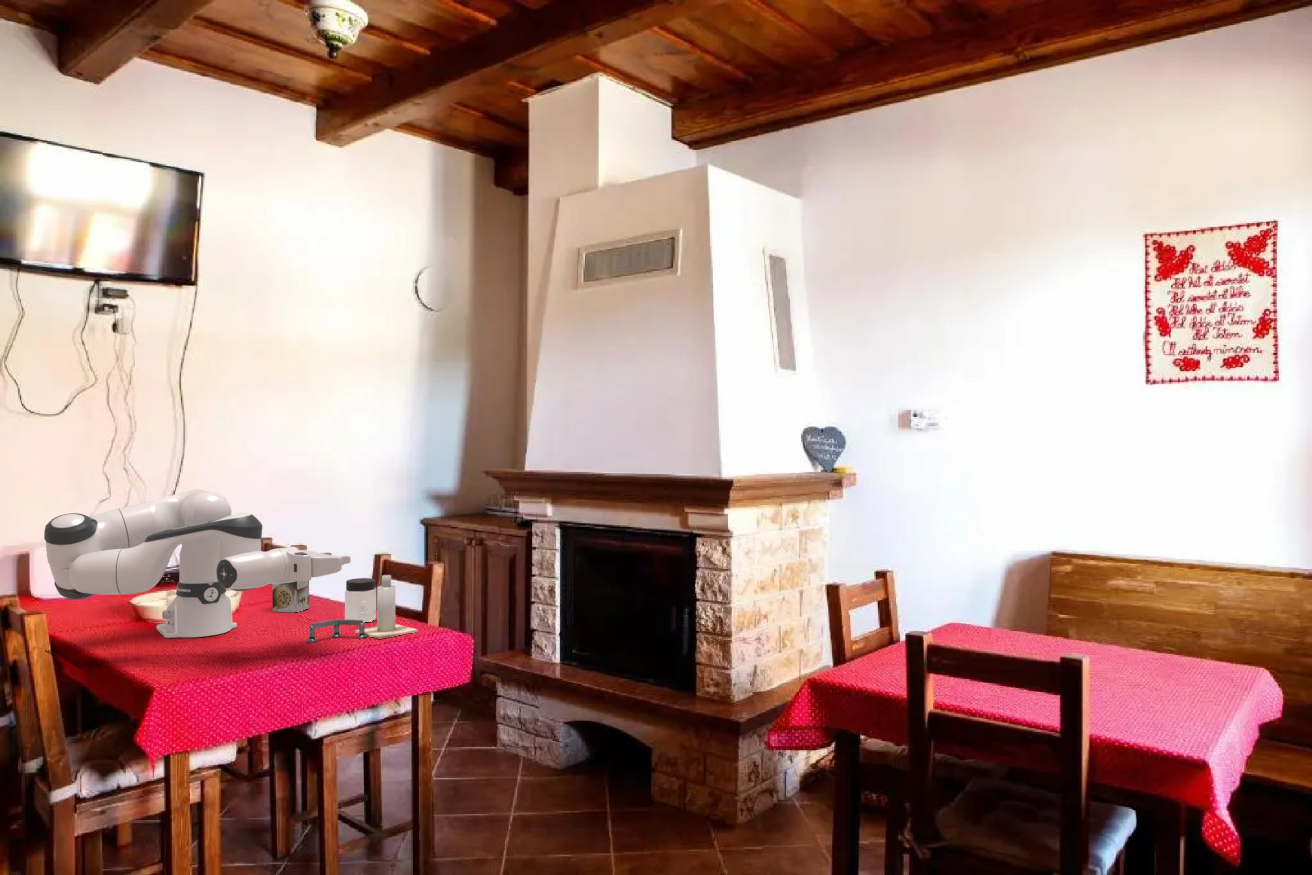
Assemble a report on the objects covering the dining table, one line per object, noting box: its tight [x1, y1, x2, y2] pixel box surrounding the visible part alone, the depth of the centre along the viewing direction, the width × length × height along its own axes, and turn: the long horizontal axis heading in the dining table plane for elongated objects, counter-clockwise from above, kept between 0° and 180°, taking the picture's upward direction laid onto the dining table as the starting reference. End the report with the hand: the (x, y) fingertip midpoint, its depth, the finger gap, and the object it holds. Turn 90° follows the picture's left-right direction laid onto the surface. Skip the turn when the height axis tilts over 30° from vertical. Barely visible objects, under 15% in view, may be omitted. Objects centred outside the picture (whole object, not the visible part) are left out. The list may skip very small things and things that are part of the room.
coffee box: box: [271, 580, 310, 613], centre depth 275 cm, size 9×6×16 cm
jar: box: [344, 577, 377, 623], centre depth 260 cm, size 9×8×12 cm
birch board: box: [354, 623, 419, 639], centre depth 245 cm, size 12×12×1 cm
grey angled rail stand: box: [306, 618, 368, 643], centre depth 237 cm, size 9×14×5 cm, turn 139°
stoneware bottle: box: [376, 574, 396, 632], centre depth 245 cm, size 5×5×15 cm
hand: (339, 557), depth 233 cm, fingers open, 8 cm apart
